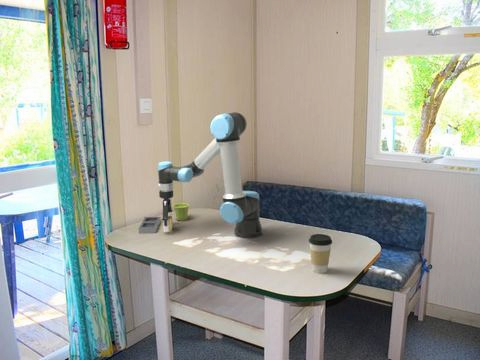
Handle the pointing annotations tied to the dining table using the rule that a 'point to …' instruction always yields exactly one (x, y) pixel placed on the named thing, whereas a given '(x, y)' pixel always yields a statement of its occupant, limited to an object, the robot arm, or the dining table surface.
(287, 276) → the dining table surface
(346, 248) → the dining table surface
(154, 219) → the grey double window frame
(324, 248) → the coffee cup
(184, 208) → the plant pot
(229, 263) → the dining table surface
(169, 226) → the yellow rectangular block
